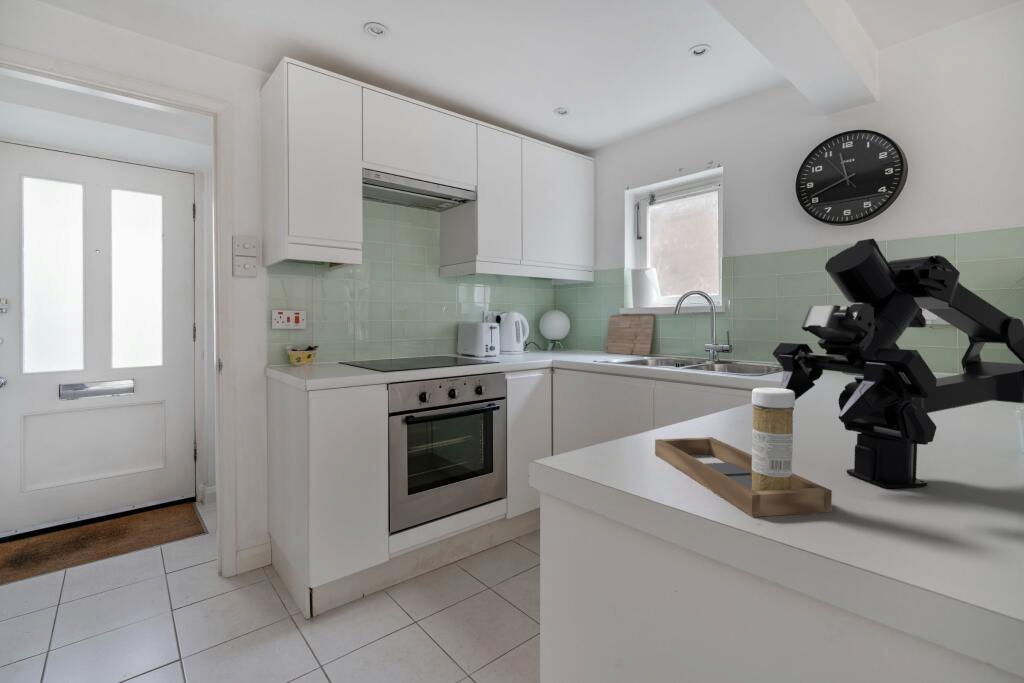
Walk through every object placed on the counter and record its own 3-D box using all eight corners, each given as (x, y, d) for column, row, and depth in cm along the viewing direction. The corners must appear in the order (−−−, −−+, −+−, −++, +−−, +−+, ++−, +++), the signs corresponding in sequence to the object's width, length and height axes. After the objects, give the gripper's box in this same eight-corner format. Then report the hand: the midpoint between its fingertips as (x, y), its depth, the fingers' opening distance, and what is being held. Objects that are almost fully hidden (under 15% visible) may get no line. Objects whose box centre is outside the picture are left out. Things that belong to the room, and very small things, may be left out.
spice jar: (788, 493, 59) (790, 387, 58) (796, 507, 55) (799, 392, 54) (747, 489, 61) (749, 385, 60) (752, 502, 56) (754, 390, 56)
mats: (729, 464, 72) (729, 462, 72) (779, 490, 61) (779, 487, 61) (682, 467, 71) (682, 464, 71) (725, 493, 60) (725, 490, 60)
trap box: (711, 451, 79) (711, 437, 79) (831, 511, 55) (831, 490, 55) (655, 454, 78) (655, 439, 78) (751, 516, 53) (752, 495, 53)
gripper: (784, 289, 71) (721, 363, 68) (923, 278, 53) (844, 379, 50) (823, 341, 73) (763, 415, 71) (969, 348, 55) (895, 447, 53)
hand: (807, 413), depth 61 cm, fingers open, 9 cm apart
